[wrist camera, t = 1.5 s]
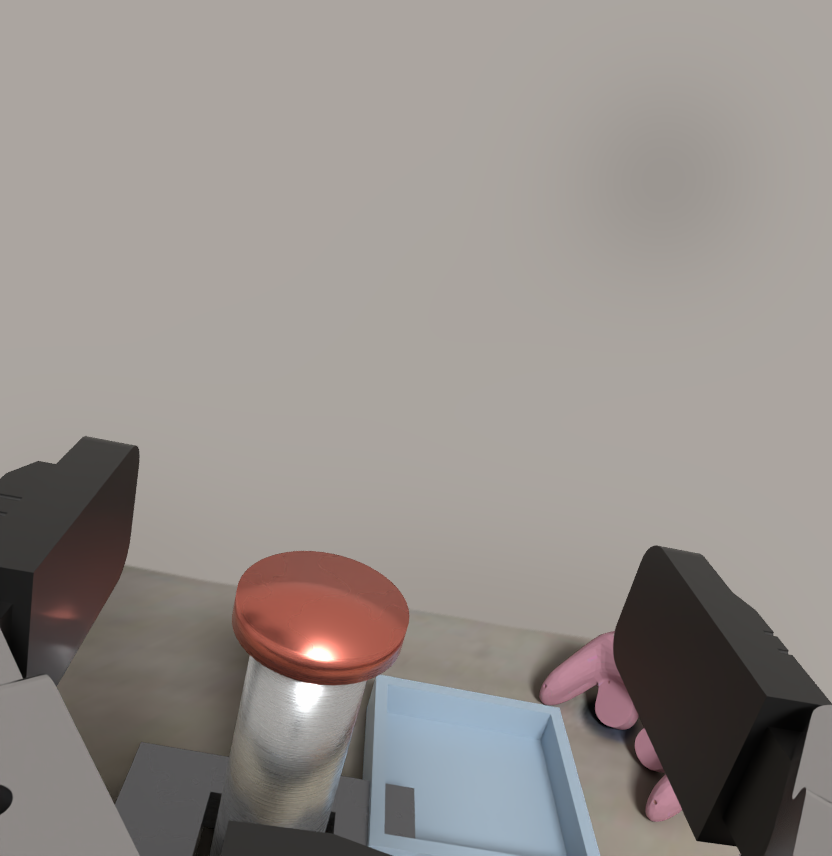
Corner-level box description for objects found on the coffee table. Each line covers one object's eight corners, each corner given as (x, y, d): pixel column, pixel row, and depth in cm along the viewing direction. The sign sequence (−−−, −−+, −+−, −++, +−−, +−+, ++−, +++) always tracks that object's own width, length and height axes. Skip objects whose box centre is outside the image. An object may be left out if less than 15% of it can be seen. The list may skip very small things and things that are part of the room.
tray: (356, 886, 31) (369, 844, 30) (366, 709, 40) (376, 674, 39) (588, 921, 32) (607, 882, 31) (545, 741, 41) (559, 708, 40)
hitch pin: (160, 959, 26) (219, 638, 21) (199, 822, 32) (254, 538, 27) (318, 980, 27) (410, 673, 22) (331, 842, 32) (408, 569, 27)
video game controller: (688, 835, 40) (770, 730, 39) (652, 831, 36) (741, 717, 36) (564, 703, 47) (632, 614, 46) (525, 690, 44) (597, 595, 43)
